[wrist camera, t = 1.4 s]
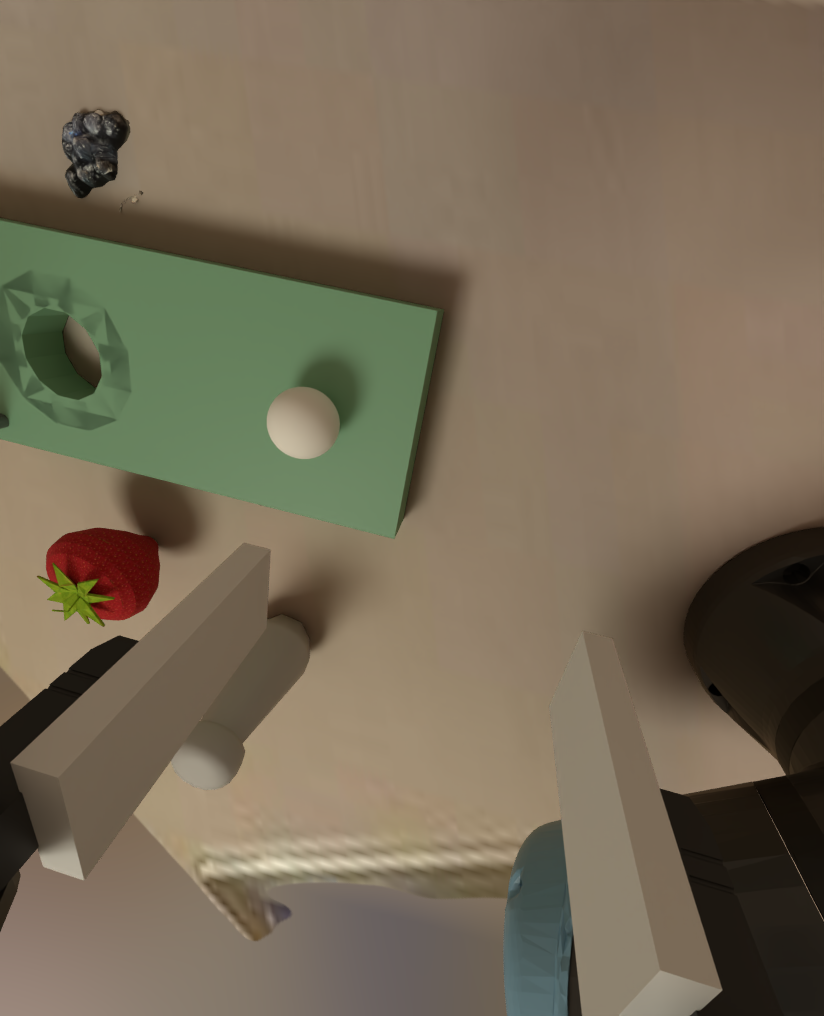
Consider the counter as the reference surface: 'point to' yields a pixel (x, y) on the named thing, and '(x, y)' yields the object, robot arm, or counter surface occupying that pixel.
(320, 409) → the white ball
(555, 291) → the counter surface
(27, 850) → the robot arm
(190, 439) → the board
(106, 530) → the strawberry
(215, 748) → the salt shaker
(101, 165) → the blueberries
